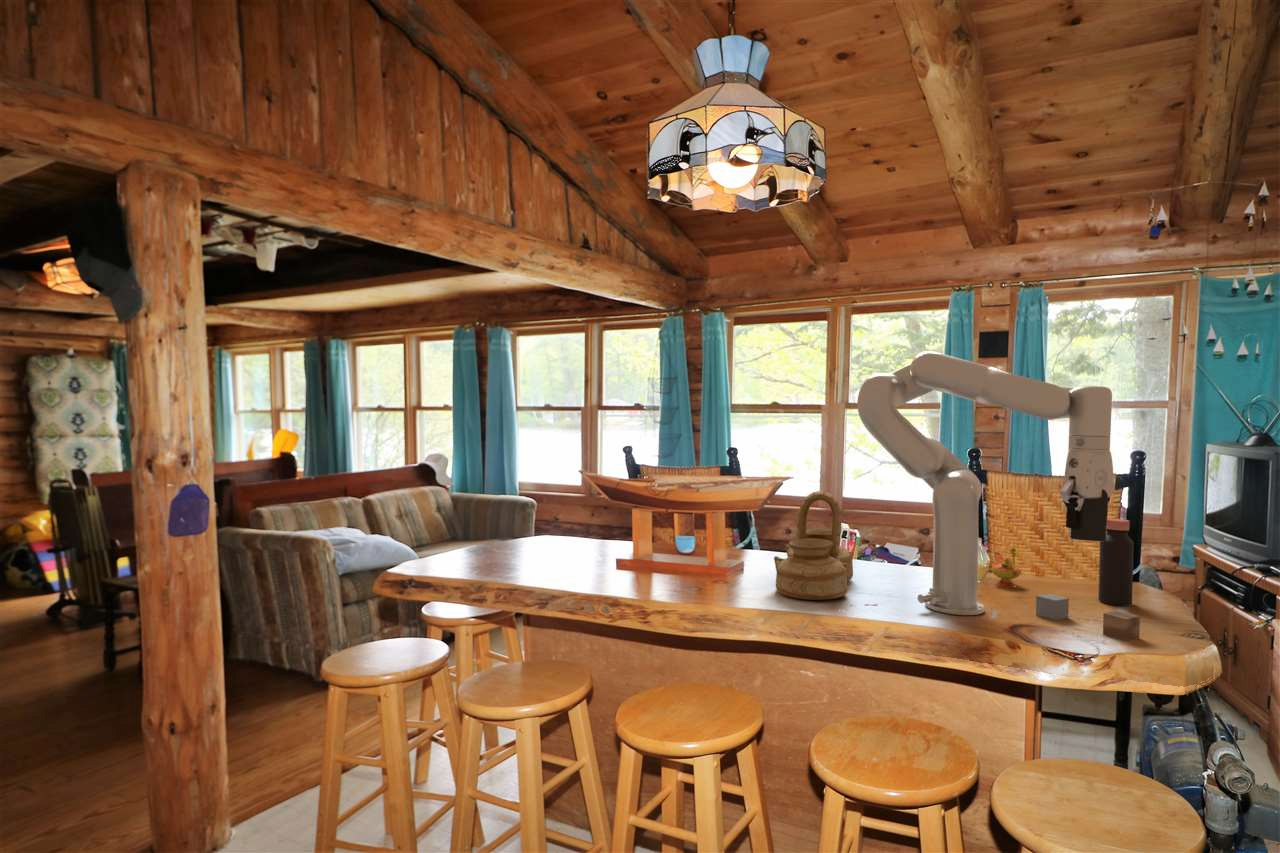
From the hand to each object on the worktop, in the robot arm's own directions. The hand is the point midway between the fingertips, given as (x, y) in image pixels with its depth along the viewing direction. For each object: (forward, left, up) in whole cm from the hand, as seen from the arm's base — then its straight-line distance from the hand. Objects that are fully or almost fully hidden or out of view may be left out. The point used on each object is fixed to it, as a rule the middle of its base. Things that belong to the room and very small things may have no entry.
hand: (1085, 526), depth 154 cm
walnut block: (0, -8, -21) cm, 23 cm away
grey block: (0, +7, -21) cm, 23 cm away
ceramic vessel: (-31, +50, -22) cm, 63 cm away
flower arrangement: (+17, +33, -21) cm, 43 cm away
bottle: (+25, +9, -21) cm, 34 cm away
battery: (0, 0, -3) cm, 3 cm away
